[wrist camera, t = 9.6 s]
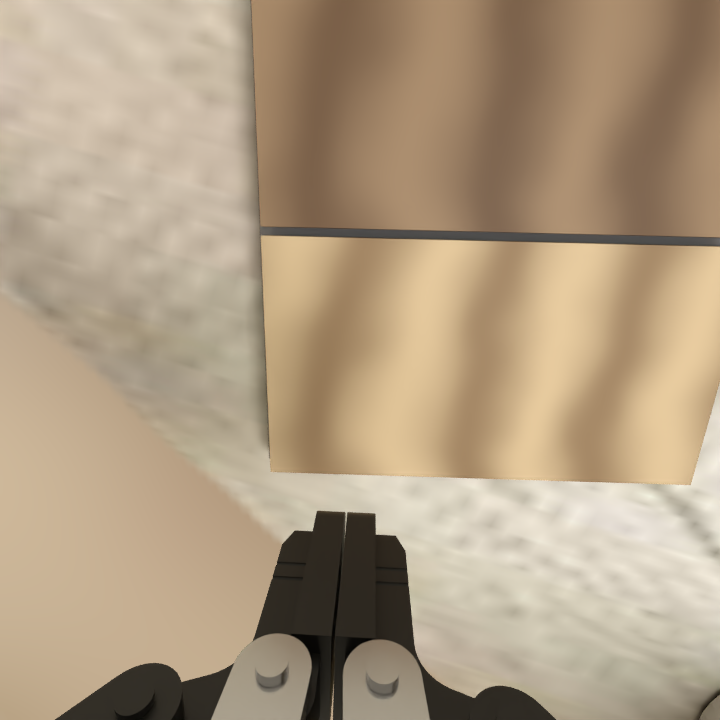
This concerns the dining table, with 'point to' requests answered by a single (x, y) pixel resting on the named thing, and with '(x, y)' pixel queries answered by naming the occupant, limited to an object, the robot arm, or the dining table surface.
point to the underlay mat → (479, 237)
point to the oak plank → (490, 357)
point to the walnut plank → (489, 115)
